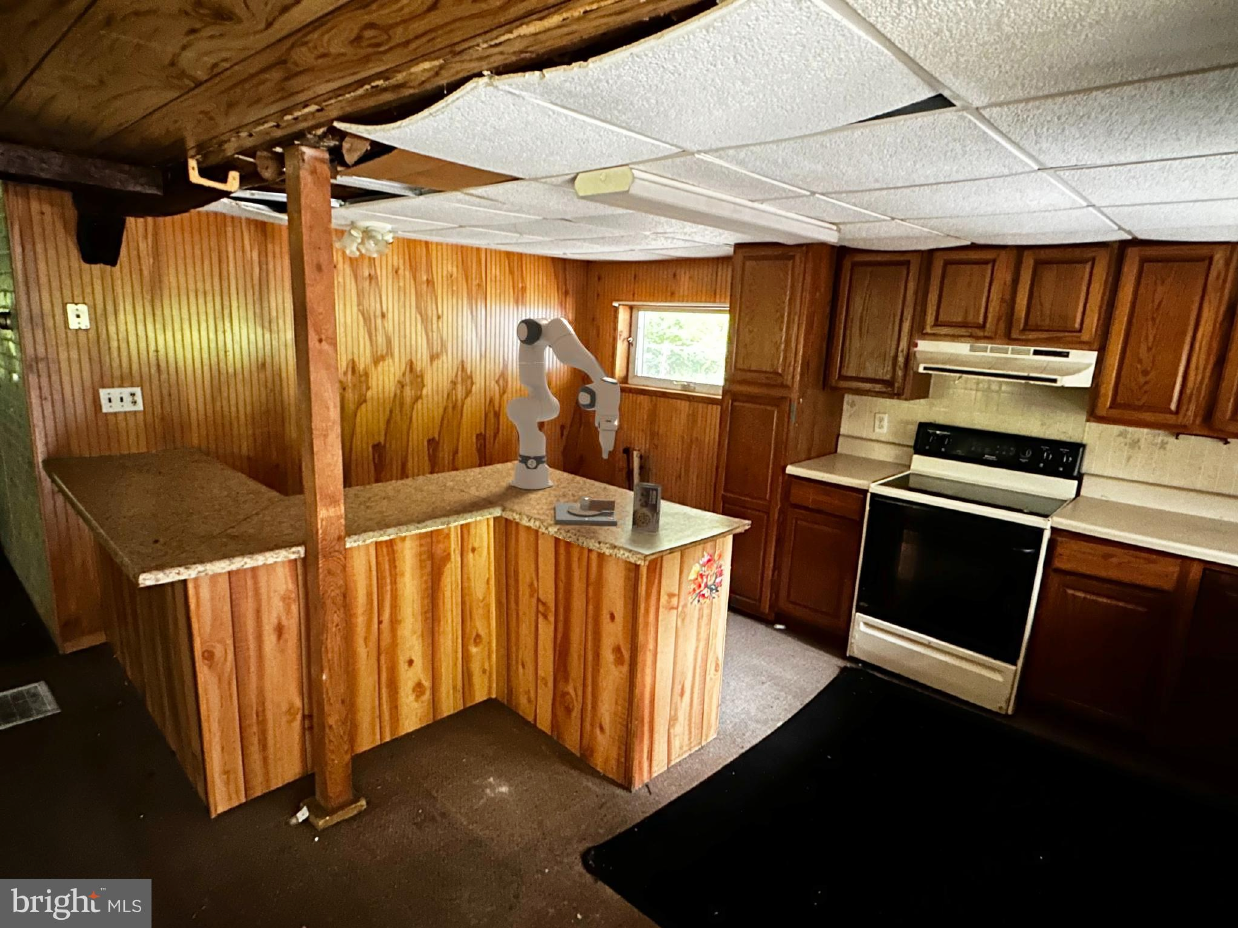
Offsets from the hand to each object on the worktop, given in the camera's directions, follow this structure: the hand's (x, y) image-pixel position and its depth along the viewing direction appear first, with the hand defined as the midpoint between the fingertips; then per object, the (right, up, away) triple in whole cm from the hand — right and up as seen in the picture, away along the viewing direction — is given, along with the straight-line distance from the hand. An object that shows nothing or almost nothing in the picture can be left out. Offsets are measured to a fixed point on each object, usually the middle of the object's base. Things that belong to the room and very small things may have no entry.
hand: (604, 457), depth 248 cm
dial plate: (-8, -22, -2) cm, 23 cm away
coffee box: (+15, -26, -13) cm, 32 cm away
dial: (-5, -20, -2) cm, 21 cm away
